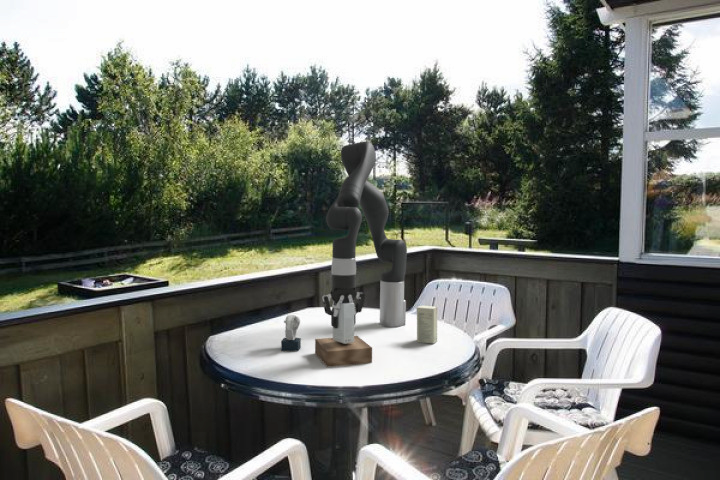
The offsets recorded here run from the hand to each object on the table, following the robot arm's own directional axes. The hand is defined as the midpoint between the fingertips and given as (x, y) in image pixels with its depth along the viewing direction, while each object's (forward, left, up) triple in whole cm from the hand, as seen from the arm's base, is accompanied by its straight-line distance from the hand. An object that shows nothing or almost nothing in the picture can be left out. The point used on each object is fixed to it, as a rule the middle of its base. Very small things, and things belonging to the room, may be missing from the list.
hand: (343, 326), depth 164 cm
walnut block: (0, 0, -10) cm, 10 cm away
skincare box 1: (0, 0, -5) cm, 5 cm away
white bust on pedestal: (+12, -15, -10) cm, 22 cm away
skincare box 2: (-34, -6, -10) cm, 36 cm away
